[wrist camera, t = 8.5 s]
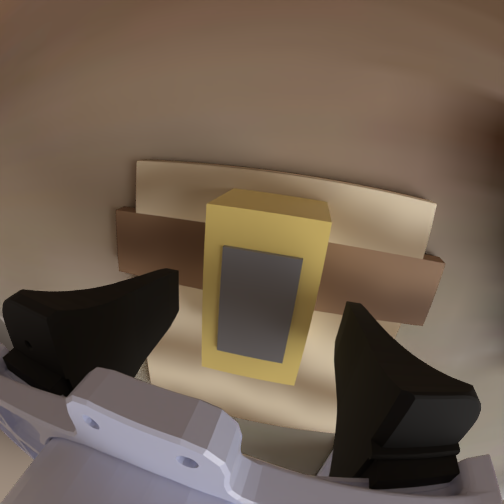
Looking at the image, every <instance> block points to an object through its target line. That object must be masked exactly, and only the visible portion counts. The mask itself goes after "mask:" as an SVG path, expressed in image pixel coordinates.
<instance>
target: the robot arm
mask: <svg viewBox="0 0 504 504" xmlns="http://www.w3.org/2000/svg"><path fill="white" fill-rule="evenodd" d="M2 311H3V318H4V321H5V325H6V327H7V330H8V333H9V336H10V338H11V341H12V344H13V346H14V348H13V349H12V350H11V351H10V352H9V350H8V349H7V348H6V347H5V346H4V345H3V344H2V343H0V429H1V430H2V431H3V432H4V433H5V434H6V435H7V436H8V437H9V438H10V439H11V440H12V441H13V442H14V443H15V444H16V445H18V446H19V447H20V448H21V449H22V450H23V451H24V452H25V453H26V454H28V455H29V456H30V457H31V458H32V459H33V460H34V461H33V462H32V463H31V464H30V466H29V467H28V468H27V470H26V471H25V472H24V473H23V475H22V476H21V477H20V478H19V480H18V481H17V482H16V484H15V485H14V487H13V488H12V489H11V490H10V492H9V493H8V494H7V496H6V497H5V498H4V500H3V501H2V502H1V504H503V502H502V497H501V493H500V489H499V485H498V481H497V478H496V474H495V471H494V467H493V464H492V461H491V457H490V455H488V454H487V455H482V456H477V457H471V458H467V459H464V460H462V461H460V462H457V458H456V455H458V454H459V452H460V447H459V444H458V442H459V441H460V440H461V439H462V438H463V437H464V435H465V434H466V433H467V432H468V431H469V430H470V428H471V427H472V426H473V425H474V423H475V422H476V420H477V418H478V417H479V414H480V411H481V403H480V401H479V399H478V396H477V394H476V392H475V390H474V387H473V385H470V384H468V383H465V382H462V381H460V380H457V379H455V378H452V377H450V376H448V375H446V374H444V373H442V372H440V371H438V370H436V369H434V368H432V367H431V366H429V365H427V364H426V363H424V362H423V361H421V360H420V359H418V358H417V357H415V356H414V355H413V354H411V353H410V352H409V351H408V350H406V349H405V348H404V347H403V346H401V345H400V344H399V343H398V342H397V341H396V340H395V339H394V338H393V337H392V336H391V335H390V334H389V333H388V332H387V331H386V330H385V329H384V328H383V327H382V326H381V325H380V324H379V323H378V322H377V321H376V319H375V318H374V317H373V316H372V315H371V314H370V313H369V311H368V310H367V309H366V308H365V307H364V306H363V305H362V304H361V303H356V302H349V301H347V302H346V305H345V309H344V312H343V316H342V319H341V323H340V326H339V329H338V333H337V336H336V339H335V348H334V369H335V382H336V396H337V417H336V430H335V439H334V448H333V450H332V452H331V453H330V455H329V457H328V458H327V460H326V461H325V463H324V464H323V466H322V467H321V469H320V471H319V472H318V474H317V475H316V476H314V475H306V474H303V473H299V472H296V471H293V470H289V469H286V468H283V467H280V466H277V465H274V464H271V463H268V462H265V461H262V460H260V459H257V458H254V457H252V456H249V455H246V454H244V453H241V441H242V434H241V431H240V427H239V424H238V423H237V422H236V421H235V420H234V419H233V418H232V417H231V416H230V415H228V414H227V413H226V412H225V411H224V410H223V409H222V408H220V407H217V406H215V405H212V404H210V403H208V402H206V401H203V400H201V399H197V398H194V397H190V396H187V395H184V394H180V393H177V392H174V391H171V390H168V389H165V388H162V387H159V386H156V385H153V384H150V383H147V382H144V381H141V380H139V379H136V378H134V377H135V376H136V374H137V372H138V370H139V369H140V367H141V365H142V364H143V362H144V361H145V360H146V358H147V357H148V356H149V354H150V353H151V352H152V350H153V349H154V348H155V347H156V345H157V344H158V343H159V341H160V340H161V339H162V337H163V336H164V335H165V333H166V332H167V331H168V329H169V328H170V327H171V325H172V323H173V321H174V320H175V318H176V316H177V314H178V312H179V271H178V270H174V269H169V268H164V269H159V270H156V271H152V272H149V273H146V274H143V275H140V276H137V277H134V278H131V279H128V280H124V281H121V282H117V283H114V284H110V285H106V286H102V287H97V288H91V289H84V290H75V291H59V292H48V291H33V290H24V289H23V290H20V291H18V292H17V293H15V294H14V295H12V296H11V297H9V298H8V299H6V300H5V301H4V303H3V308H2Z"/></svg>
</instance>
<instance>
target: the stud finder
mask: <svg viewBox="0 0 504 504" xmlns="http://www.w3.org/2000/svg"><path fill="white" fill-rule="evenodd" d="M331 225H332V220H331V216H330V212H329V208H328V204H327V202H324V201H318V200H312V199H306V198H300V197H293V196H287V195H280V194H273V193H266V192H259V191H251V190H244V189H236V188H234V189H232V190H230V191H228V192H226V193H225V194H223V195H221V196H219V197H217V198H216V199H214V200H212V201H210V202H209V203H207V206H206V223H205V242H204V265H203V295H202V366H203V367H206V368H210V369H214V370H219V371H223V372H227V373H231V374H236V375H240V376H245V377H250V378H255V379H259V380H265V381H270V382H275V383H281V384H287V385H293V386H294V384H295V381H296V377H297V374H298V370H299V367H300V363H301V359H302V355H303V352H304V348H305V344H306V340H307V336H308V332H309V328H310V324H311V320H312V316H313V311H314V307H315V303H316V299H317V294H318V290H319V285H320V281H321V276H322V271H323V266H324V261H325V257H326V252H327V246H328V241H329V236H330V231H331Z"/></svg>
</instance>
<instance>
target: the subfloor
mask: <svg viewBox="0 0 504 504" xmlns="http://www.w3.org/2000/svg"><path fill="white" fill-rule="evenodd" d="M234 188H236V189H244V190H251V191H259V192H266V193H273V194H280V195H287V196H293V197H300V198H306V199H312V200H318V201H324V202H327V204H328V208H329V212H330V216H331V220H332V225H331V231H330V236H329V241H328V246H327V252H326V257H325V261H324V266H323V271H322V276H321V281H320V285H319V290H318V294H317V299H316V303H315V307H314V311H313V316H312V320H311V324H310V328H309V332H308V336H307V340H306V344H305V348H304V352H303V355H302V359H301V363H300V367H299V370H298V374H297V377H296V381H295V384H294V386H293V385H287V384H281V383H275V382H270V381H265V380H259V379H255V378H250V377H245V376H240V375H236V374H231V373H227V372H223V371H219V370H214V369H210V368H206V367H203V366H202V295H203V265H204V242H205V223H206V206H207V203H209V202H210V201H212V200H214V199H216V198H217V197H219V196H221V195H223V194H225V193H226V192H228V191H230V190H232V189H234ZM436 205H437V204H436V203H434V202H432V201H430V200H426V199H422V198H418V197H414V196H410V195H405V194H401V193H397V192H392V191H387V190H383V189H378V188H373V187H368V186H363V185H358V184H353V183H348V182H342V181H337V180H331V179H325V178H319V177H313V176H307V175H300V174H293V173H286V172H279V171H272V170H264V169H256V168H247V167H238V166H229V165H219V164H208V163H195V162H182V161H166V160H139V161H137V168H136V208H133V207H122V208H120V209H117V210H116V232H117V249H118V263H119V271H122V272H126V273H130V274H134V275H138V276H140V275H143V274H146V273H149V272H152V271H156V270H159V269H164V268H169V269H174V270H178V271H179V312H178V314H177V316H176V318H175V320H174V321H173V323H172V325H171V327H170V328H169V329H168V331H167V332H166V333H165V335H164V336H163V337H162V339H161V340H160V341H159V343H158V344H157V345H156V347H155V348H154V349H153V350H152V352H151V353H150V354H149V356H148V357H147V361H148V368H149V374H150V380H151V384H153V385H156V386H159V387H162V388H165V389H168V390H171V391H174V392H177V393H180V394H184V395H187V396H190V397H194V398H197V399H201V400H203V401H206V402H208V403H210V404H212V405H215V406H217V407H220V408H222V409H223V410H224V411H225V412H226V413H227V414H228V415H230V416H232V417H236V418H241V419H245V420H250V421H255V422H260V423H265V424H270V425H276V426H282V427H288V428H295V429H302V430H309V431H318V432H327V433H335V430H336V417H337V396H336V382H335V369H334V348H335V339H336V336H337V333H338V329H339V326H340V323H341V319H342V316H343V312H344V309H345V305H346V302H347V301H349V302H356V303H361V304H362V305H363V306H364V307H365V308H366V309H367V310H368V311H369V313H370V314H371V315H372V316H373V317H374V318H375V319H376V321H377V322H378V323H379V324H380V325H381V326H382V327H383V328H384V329H385V330H386V331H387V332H388V333H389V334H390V335H391V336H392V337H393V338H394V339H395V337H396V335H397V332H398V330H399V327H400V325H401V323H403V324H411V325H420V326H423V324H424V322H425V319H426V317H427V314H428V312H429V309H430V307H431V304H432V301H433V299H434V296H435V293H436V290H437V288H438V285H439V282H440V279H441V276H442V273H443V270H444V267H445V263H444V262H443V261H442V259H441V258H440V257H436V256H431V255H426V254H425V250H426V246H427V243H428V239H429V235H430V231H431V227H432V223H433V219H434V214H435V210H436Z"/></svg>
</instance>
